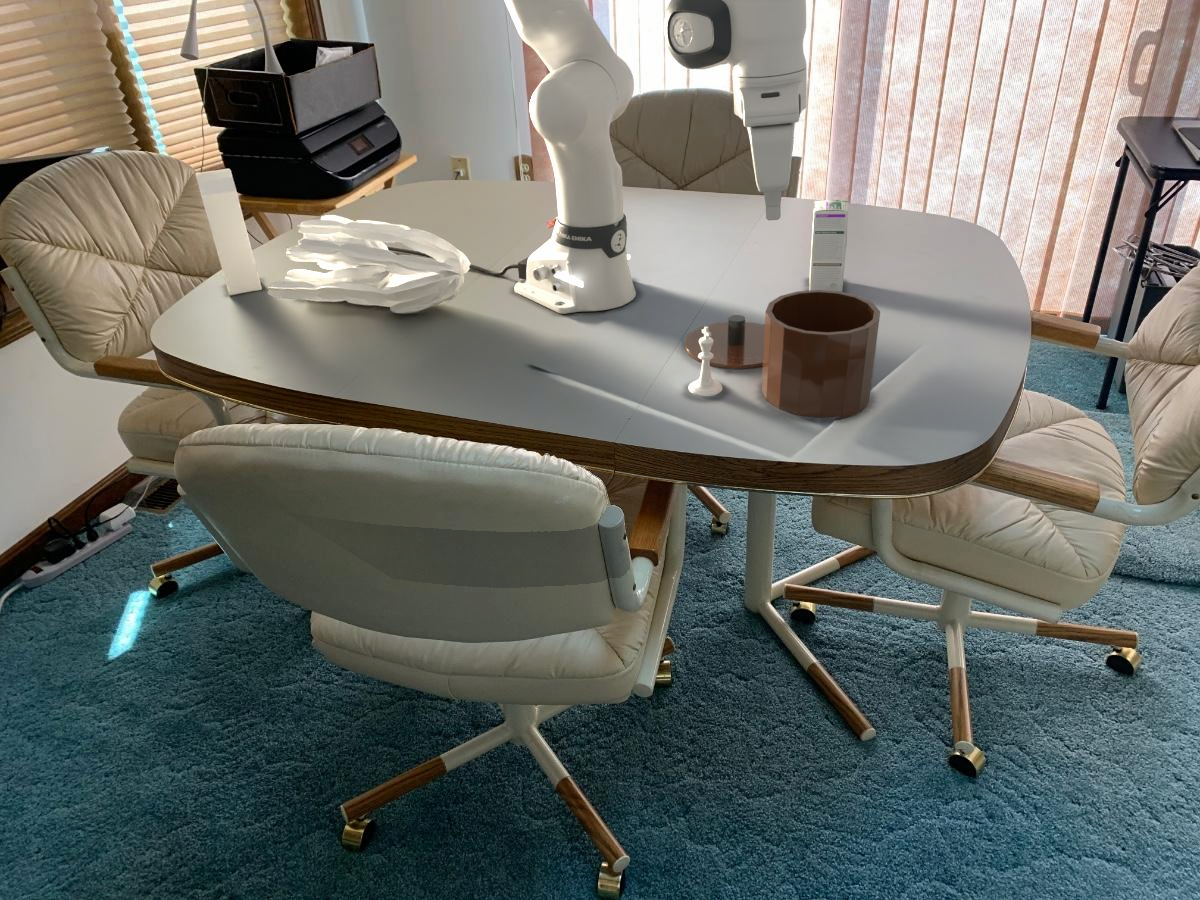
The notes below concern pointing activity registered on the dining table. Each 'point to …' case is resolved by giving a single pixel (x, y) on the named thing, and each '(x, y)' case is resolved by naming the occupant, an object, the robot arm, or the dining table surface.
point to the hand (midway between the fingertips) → (772, 207)
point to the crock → (819, 353)
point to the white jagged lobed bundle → (372, 266)
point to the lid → (731, 343)
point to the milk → (229, 231)
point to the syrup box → (828, 245)
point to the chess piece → (705, 369)
